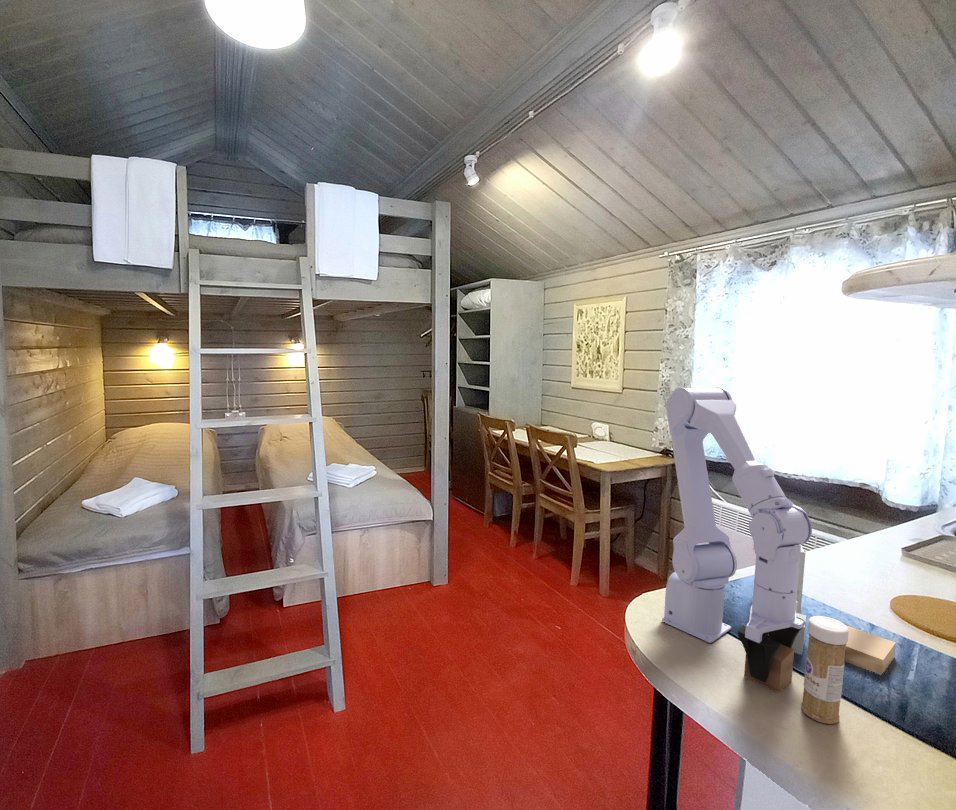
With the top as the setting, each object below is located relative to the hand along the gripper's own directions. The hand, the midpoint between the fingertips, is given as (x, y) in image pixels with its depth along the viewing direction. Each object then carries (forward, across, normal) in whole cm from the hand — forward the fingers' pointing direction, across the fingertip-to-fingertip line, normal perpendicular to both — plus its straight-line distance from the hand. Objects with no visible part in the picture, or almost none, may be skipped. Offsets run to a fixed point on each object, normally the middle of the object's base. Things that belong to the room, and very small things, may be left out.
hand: (768, 669), depth 80 cm
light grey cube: (+2, +13, +2) cm, 13 cm away
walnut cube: (+2, 0, 0) cm, 2 cm away
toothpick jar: (+2, -3, -8) cm, 9 cm away
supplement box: (+2, +28, +9) cm, 29 cm away
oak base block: (+2, +19, -7) cm, 20 cm away
